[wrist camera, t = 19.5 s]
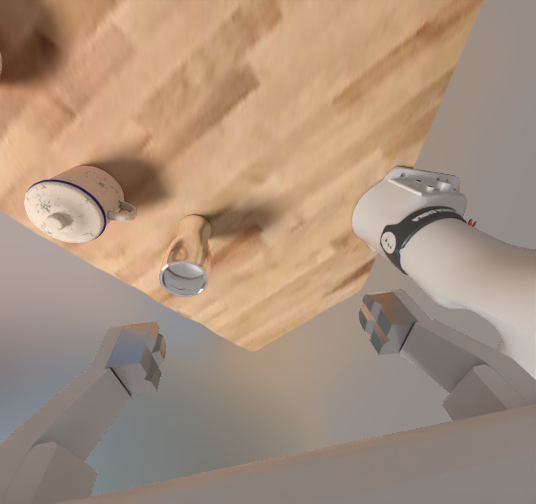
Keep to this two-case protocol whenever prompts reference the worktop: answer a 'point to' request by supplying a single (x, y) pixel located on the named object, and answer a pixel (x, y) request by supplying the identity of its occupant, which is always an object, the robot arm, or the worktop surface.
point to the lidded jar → (0, 63)
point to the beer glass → (188, 258)
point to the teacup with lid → (77, 204)
